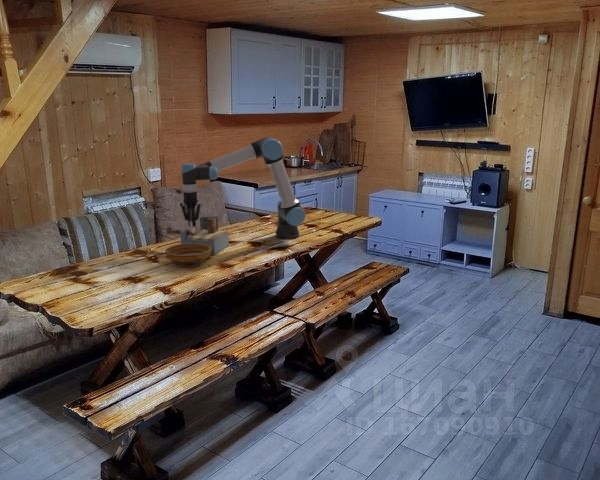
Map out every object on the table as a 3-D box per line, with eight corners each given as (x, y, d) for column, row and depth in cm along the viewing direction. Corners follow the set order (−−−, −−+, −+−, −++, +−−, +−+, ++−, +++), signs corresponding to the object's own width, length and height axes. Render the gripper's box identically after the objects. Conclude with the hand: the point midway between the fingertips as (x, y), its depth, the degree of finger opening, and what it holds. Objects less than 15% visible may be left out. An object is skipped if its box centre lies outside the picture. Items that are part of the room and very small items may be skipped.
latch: (192, 233, 309) (192, 228, 308) (190, 234, 306) (190, 229, 305) (169, 232, 313) (169, 226, 312) (166, 233, 310) (166, 228, 309)
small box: (218, 231, 353) (218, 216, 350) (216, 234, 346) (215, 218, 344) (203, 231, 354) (202, 216, 351) (200, 234, 347) (199, 218, 345)
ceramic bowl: (179, 274, 267) (178, 259, 265) (152, 265, 283) (151, 250, 281) (225, 261, 288) (224, 247, 286) (198, 253, 304) (197, 239, 302)
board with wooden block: (227, 233, 316) (226, 217, 314) (213, 241, 298) (212, 225, 296) (203, 231, 320) (202, 216, 318) (188, 239, 302) (187, 223, 300)
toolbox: (228, 246, 318) (227, 226, 315) (214, 255, 300) (213, 234, 297) (195, 243, 324) (194, 224, 321) (179, 252, 306) (177, 232, 302)
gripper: (203, 190, 302) (205, 231, 308) (182, 189, 306) (185, 229, 312) (197, 192, 295) (200, 234, 301) (176, 192, 299) (179, 232, 305)
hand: (192, 232), depth 307 cm, fingers closed
